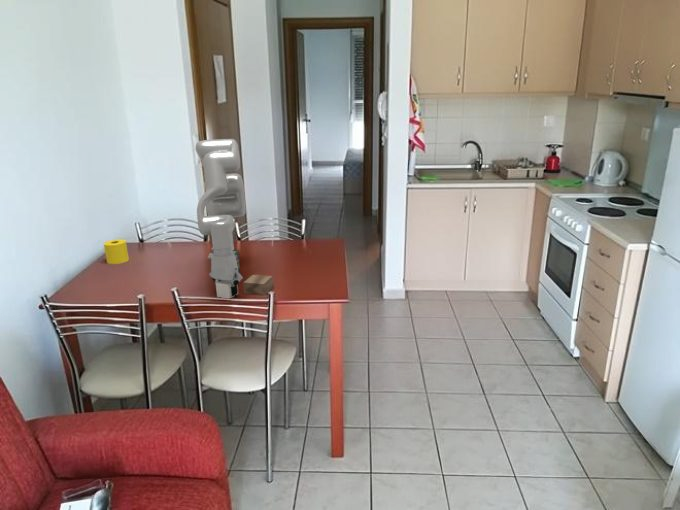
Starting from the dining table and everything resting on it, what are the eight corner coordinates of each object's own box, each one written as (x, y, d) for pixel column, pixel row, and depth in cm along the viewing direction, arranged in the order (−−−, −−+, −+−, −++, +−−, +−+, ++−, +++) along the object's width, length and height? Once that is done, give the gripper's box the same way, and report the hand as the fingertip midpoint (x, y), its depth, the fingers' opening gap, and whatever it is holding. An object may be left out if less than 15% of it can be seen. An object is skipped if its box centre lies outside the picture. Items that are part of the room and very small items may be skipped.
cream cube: (217, 297, 210) (215, 283, 208) (226, 291, 215) (224, 278, 214) (229, 299, 208) (228, 285, 206) (238, 293, 213) (237, 279, 211)
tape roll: (119, 264, 252) (116, 246, 249) (102, 263, 256) (99, 244, 253) (133, 258, 261) (130, 240, 258) (116, 256, 265) (113, 238, 262)
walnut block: (244, 293, 213) (243, 282, 212) (253, 285, 221) (252, 274, 220) (264, 295, 211) (263, 284, 209) (273, 287, 219) (272, 276, 217)
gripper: (199, 251, 206) (204, 294, 212) (236, 256, 199) (240, 300, 205) (210, 246, 212) (215, 287, 218) (247, 250, 206) (251, 293, 211)
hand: (227, 293), depth 211 cm, fingers closed on cream cube, 6 cm apart
